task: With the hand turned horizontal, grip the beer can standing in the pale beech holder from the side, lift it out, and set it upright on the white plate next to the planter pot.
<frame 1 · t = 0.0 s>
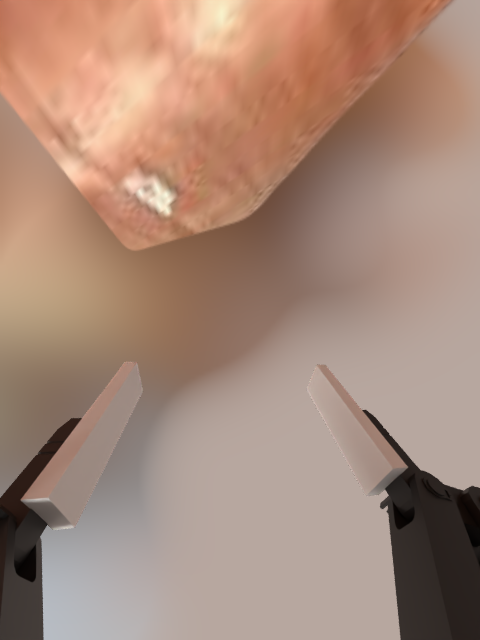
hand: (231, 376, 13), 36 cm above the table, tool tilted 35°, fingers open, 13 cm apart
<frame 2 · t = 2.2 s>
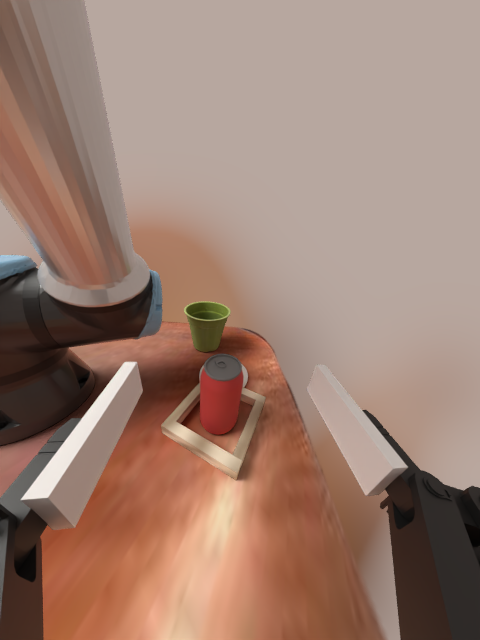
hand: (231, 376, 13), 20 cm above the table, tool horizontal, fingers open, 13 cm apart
beer can: (218, 417, 30), resting in holder
plant pot: (206, 345, 49), on the table
holder: (218, 417, 30), on the table
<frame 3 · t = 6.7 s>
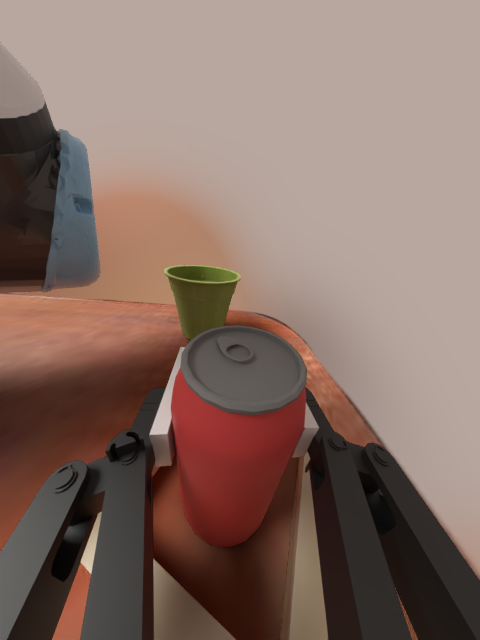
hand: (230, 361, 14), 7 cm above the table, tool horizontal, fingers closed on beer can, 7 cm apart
beer can: (226, 480, 13), resting in holder, touching gripper
plant pot: (203, 333, 32), on the table
holder: (226, 479, 13), on the table
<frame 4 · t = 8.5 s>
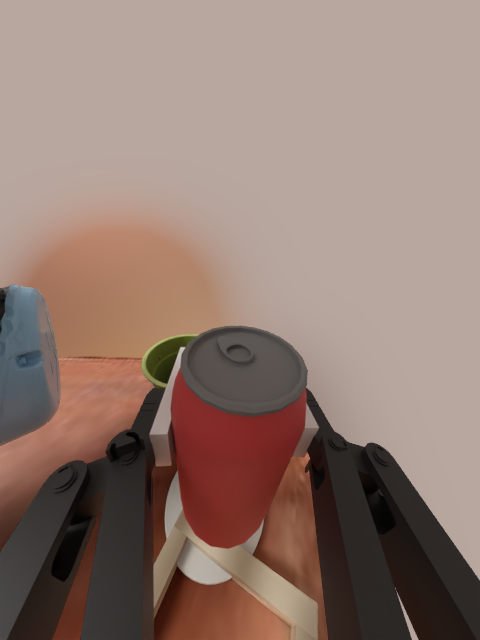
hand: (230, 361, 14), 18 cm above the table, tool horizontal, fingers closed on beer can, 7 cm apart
beer can: (226, 481, 13), point 10 cm above the table, touching gripper
plant pot: (189, 407, 30), on the table
white plate: (216, 497, 20), on the table
when the fingers open (9 cm above the table, at t = 10.7 s): beer can stays where it is, resting on white plate, holder.
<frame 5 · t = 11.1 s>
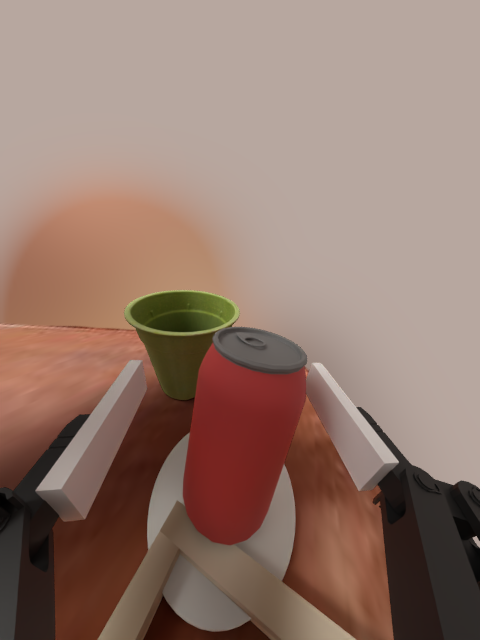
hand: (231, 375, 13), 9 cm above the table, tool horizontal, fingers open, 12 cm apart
beer can: (225, 486, 13), point 1 cm above the table, touching white plate, holder
plant pot: (189, 381, 24), on the table
white plate: (224, 490, 14), on the table
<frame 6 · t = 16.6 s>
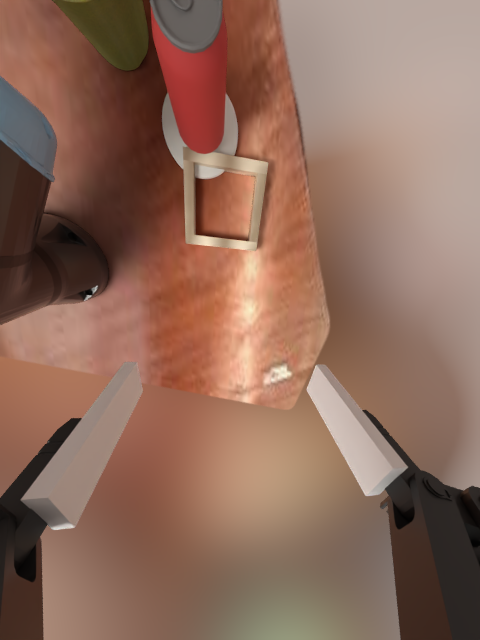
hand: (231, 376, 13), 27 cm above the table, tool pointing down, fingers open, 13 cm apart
beer can: (201, 130, 25), point 1 cm above the table, touching white plate, holder
plant pot: (120, 30, 21), on the table
white plate: (201, 133, 26), on the table
holder: (224, 207, 30), on the table
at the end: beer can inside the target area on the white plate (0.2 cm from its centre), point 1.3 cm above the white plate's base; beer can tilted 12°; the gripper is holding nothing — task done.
